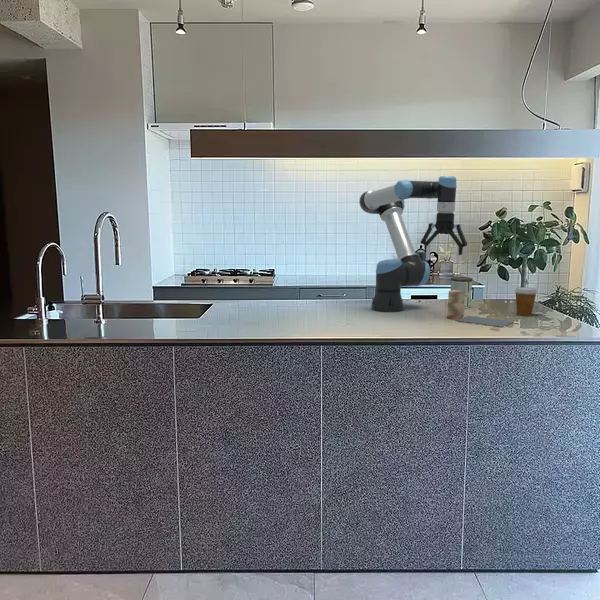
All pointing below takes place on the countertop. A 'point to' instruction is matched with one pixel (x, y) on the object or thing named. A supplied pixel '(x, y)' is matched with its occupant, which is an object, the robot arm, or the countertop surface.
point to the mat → (485, 321)
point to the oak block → (456, 304)
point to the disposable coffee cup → (525, 300)
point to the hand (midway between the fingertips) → (442, 261)
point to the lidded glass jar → (463, 288)
